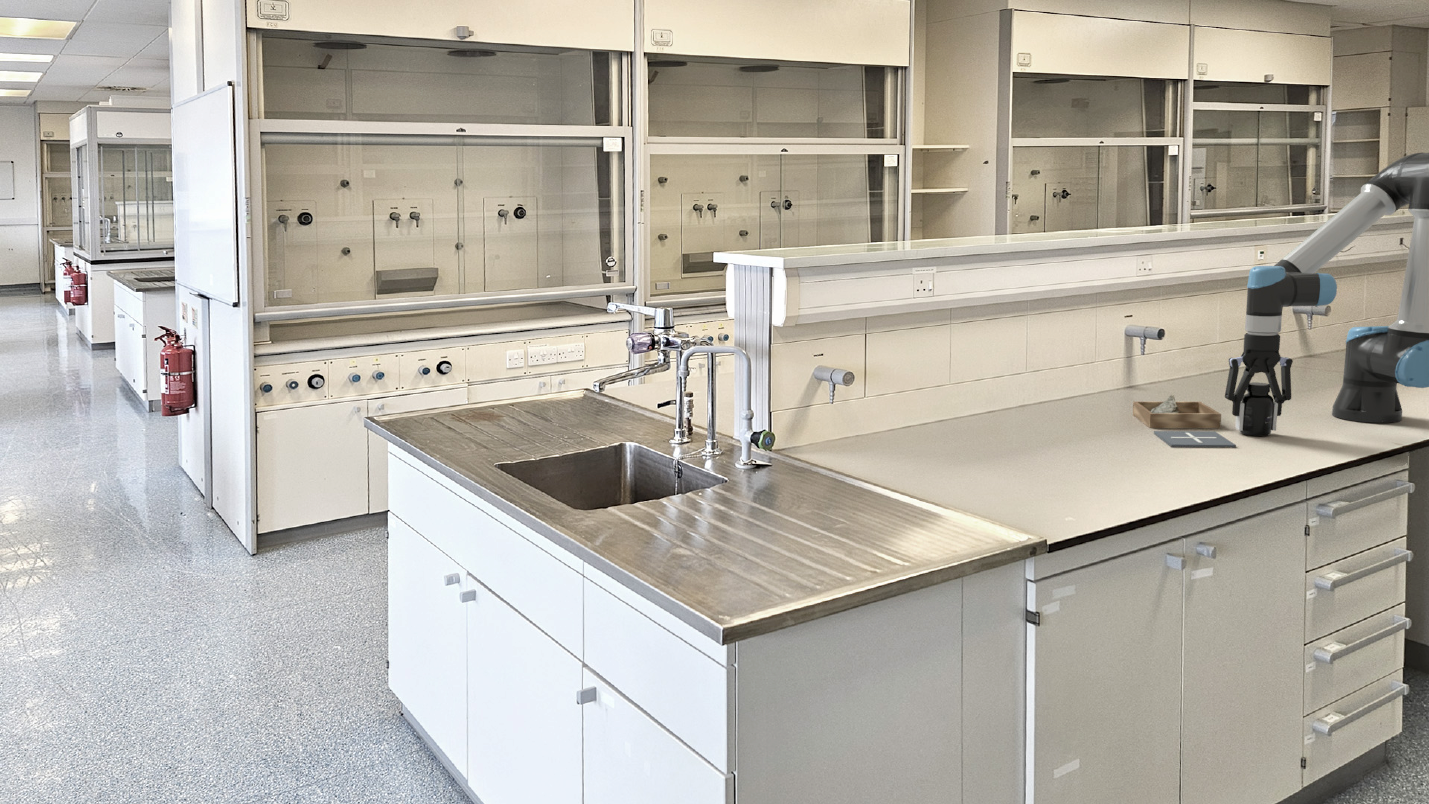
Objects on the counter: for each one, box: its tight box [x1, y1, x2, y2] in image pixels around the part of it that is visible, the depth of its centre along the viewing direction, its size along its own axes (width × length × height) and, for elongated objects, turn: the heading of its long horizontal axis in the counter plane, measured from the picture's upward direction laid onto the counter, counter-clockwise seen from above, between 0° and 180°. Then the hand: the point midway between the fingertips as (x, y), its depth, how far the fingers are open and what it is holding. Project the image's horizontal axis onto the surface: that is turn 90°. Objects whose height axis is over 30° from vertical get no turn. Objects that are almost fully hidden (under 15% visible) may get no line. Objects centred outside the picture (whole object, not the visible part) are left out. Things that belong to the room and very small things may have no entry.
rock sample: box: [1150, 394, 1179, 413], centre depth 277 cm, size 10×8×9 cm
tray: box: [1132, 401, 1222, 429], centre depth 275 cm, size 17×16×4 cm
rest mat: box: [1153, 430, 1237, 449], centre depth 255 cm, size 14×14×1 cm
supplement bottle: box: [1239, 381, 1274, 437], centre depth 259 cm, size 7×7×12 cm
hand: (1255, 429), depth 260 cm, fingers closed on supplement bottle, 7 cm apart
